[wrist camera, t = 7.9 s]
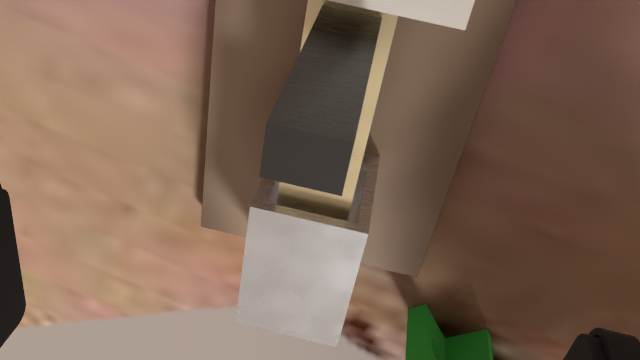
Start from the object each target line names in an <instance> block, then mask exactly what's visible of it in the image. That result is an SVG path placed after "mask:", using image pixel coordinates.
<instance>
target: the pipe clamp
mask: <svg viewBox="0 0 640 360" xmlns="http://www.w3.org/2000/svg"><path fill="white" fill-rule="evenodd" d="M406 360H493V351H492V340H491V336H490V334H489V332H488V330H487V329H485V330H480V331H475V332H471V333H466V334H461V335H457V336H452V337H447V338H445V337H444V336H443V334H442V332H441V330H440V328H439V327H438V325H437V323H436V321H435V319H434V318H433V316H432V314H431V312H430V310H429V309H428V307H427V305H426V304H425V305H421V306H417V307H413V308H409V309H408V323H407V341H406Z"/></svg>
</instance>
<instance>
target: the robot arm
mask: <svg viewBox="0 0 640 360" xmlns="http://www.w3.org/2000/svg"><path fill="white" fill-rule="evenodd" d="M25 307H26V301H25V295H24V289H23V282H22V276H21V269H20V263H19V256H18V250H17V244H16V237H15V231H14V224H13V218H12V211H11V205H10V198H9V194H8V192H7V191H6V190H4V189H2V187H1V184H0V347H1V346H2V345H3V344H4V342H5V341H6V340H7V338H8V337H9V336H10V335H11V333H12V332H13V331H14V330H15V328H16V327H17V326H18V324H19V323H20V321H21V319H22V317H23V315H24V312H25ZM563 360H640V342H639V340H638V339H637V338H636V337H634V336H630V335H626V334H622V333H618V332H614V331H610V330H606V329H602V328H595V329H593V330H592V331H591V332H590V333H589V335H587V334H580V335H579V336H578V337H577V338H576V340H575V341H574V343H573V345H572V346H571V348H570V349H569V351H568V353H567V354H566V356H565V358H564V359H563Z"/></svg>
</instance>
